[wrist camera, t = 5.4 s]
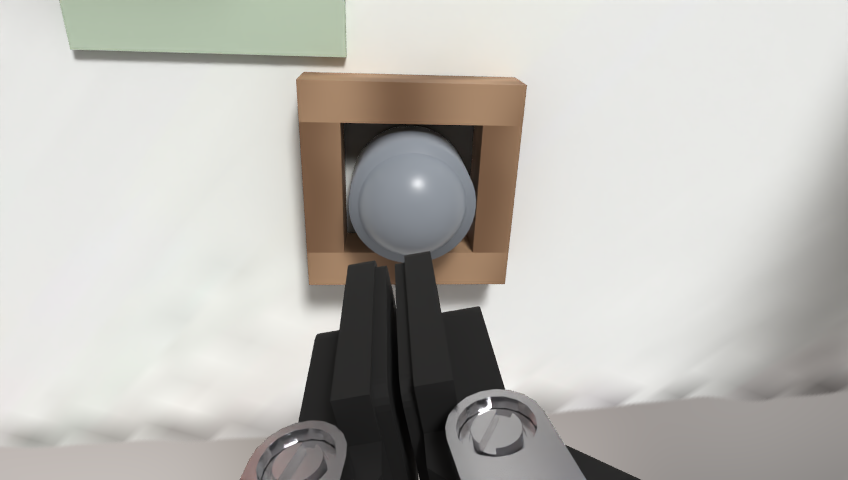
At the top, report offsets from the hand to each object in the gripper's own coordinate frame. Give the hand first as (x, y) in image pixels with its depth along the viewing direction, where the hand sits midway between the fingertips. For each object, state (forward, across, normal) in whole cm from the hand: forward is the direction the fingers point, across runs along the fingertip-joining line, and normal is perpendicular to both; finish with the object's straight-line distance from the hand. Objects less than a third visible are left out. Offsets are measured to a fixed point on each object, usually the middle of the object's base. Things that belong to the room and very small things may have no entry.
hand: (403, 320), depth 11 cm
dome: (+16, 0, +3) cm, 17 cm away
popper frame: (+17, 0, +3) cm, 17 cm away
